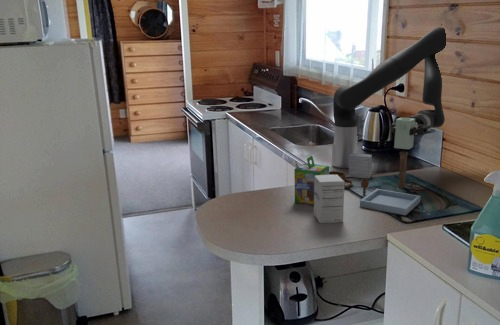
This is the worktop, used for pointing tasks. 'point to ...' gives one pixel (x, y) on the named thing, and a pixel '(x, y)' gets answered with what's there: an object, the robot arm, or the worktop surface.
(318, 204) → the supplement box
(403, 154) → the post
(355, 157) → the medicine box
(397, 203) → the tray
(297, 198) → the chalk box
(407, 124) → the green square vase
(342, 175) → the place setting
